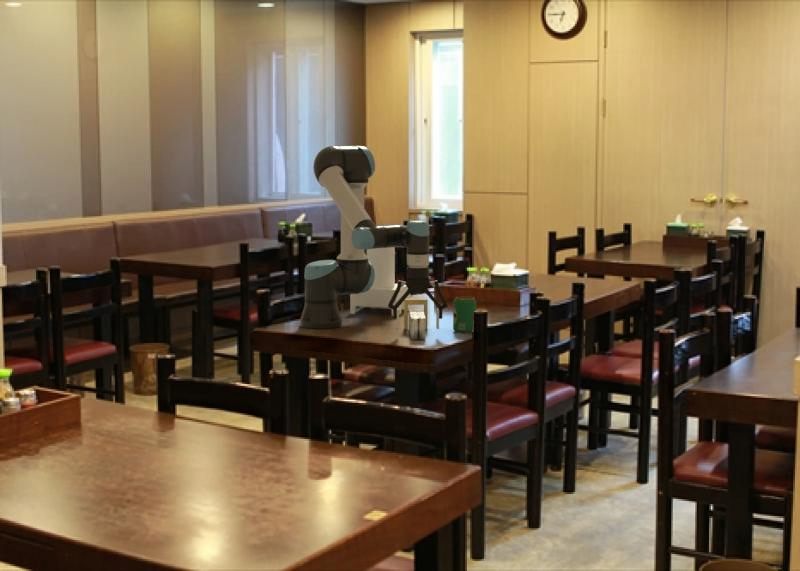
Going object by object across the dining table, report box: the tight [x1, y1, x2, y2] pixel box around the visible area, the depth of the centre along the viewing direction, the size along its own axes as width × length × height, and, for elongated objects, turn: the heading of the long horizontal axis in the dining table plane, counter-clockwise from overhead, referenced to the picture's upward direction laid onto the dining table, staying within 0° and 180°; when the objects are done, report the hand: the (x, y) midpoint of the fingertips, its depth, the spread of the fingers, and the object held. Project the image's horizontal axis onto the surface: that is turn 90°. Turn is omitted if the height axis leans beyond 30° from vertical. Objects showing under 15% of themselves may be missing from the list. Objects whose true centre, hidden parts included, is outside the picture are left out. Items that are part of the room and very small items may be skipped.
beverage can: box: [452, 296, 477, 334], centre depth 402 cm, size 8×8×12 cm
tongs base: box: [408, 309, 424, 312], centre depth 407 cm, size 3×5×7 cm, turn 92°
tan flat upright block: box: [403, 298, 429, 330], centre depth 407 cm, size 2×8×11 cm, turn 92°
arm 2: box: [417, 310, 427, 341], centre depth 394 cm, size 18×2×7 cm, turn 1°
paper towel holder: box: [349, 247, 412, 317], centre depth 448 cm, size 19×19×30 cm
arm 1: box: [408, 310, 419, 340], centre depth 394 cm, size 18×2×7 cm, turn 2°
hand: (417, 328), depth 390 cm, fingers open, 13 cm apart
